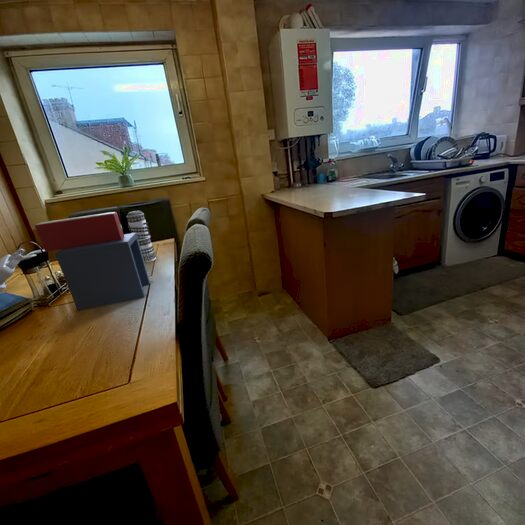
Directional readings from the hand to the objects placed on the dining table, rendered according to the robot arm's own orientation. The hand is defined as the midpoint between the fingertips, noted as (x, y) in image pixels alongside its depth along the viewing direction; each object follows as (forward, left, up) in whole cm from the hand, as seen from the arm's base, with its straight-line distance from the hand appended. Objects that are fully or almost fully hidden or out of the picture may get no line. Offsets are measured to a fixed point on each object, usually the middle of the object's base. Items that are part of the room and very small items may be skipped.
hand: (22, 252), depth 97 cm
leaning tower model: (+32, +35, -21) cm, 51 cm away
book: (+23, -5, 0) cm, 23 cm away
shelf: (+27, -5, -21) cm, 34 cm away
